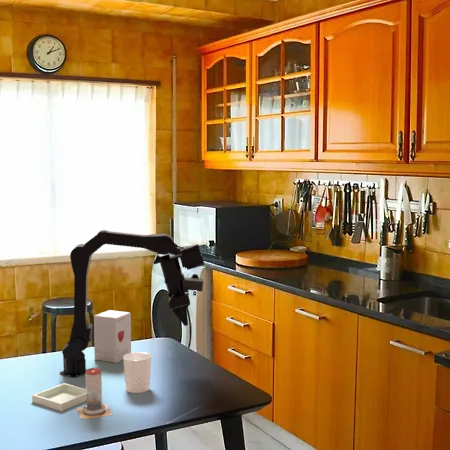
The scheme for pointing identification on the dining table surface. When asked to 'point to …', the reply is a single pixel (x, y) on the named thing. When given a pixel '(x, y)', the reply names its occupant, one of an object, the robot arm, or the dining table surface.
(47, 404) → the tray
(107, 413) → the keeper plate
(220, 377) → the dining table surface
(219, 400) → the dining table surface
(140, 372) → the white cup
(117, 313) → the supplement box
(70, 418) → the dining table surface
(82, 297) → the robot arm
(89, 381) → the clear shaker bottle
